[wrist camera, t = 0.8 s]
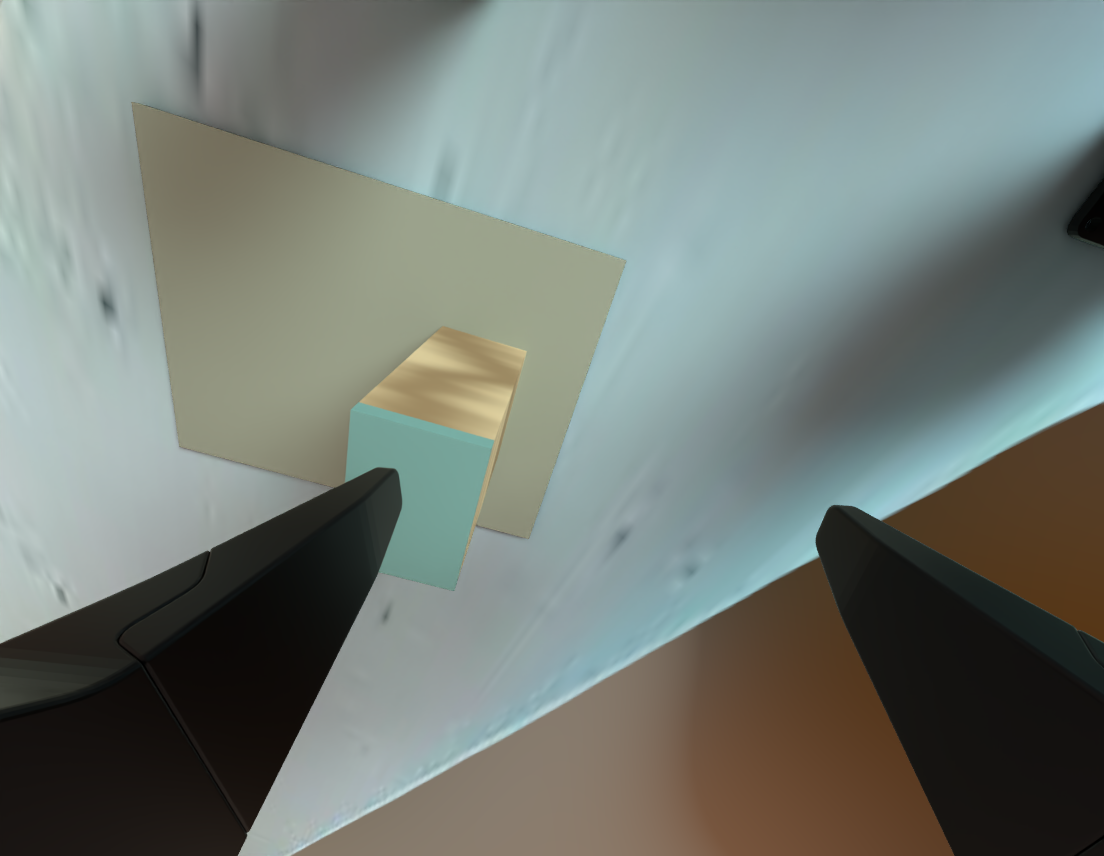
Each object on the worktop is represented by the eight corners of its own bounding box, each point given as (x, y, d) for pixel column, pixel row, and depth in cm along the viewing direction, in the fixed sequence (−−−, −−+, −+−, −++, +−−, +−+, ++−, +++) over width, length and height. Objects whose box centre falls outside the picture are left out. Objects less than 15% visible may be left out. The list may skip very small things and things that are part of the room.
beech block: (526, 351, 20) (491, 448, 12) (498, 455, 23) (454, 591, 15) (442, 326, 20) (350, 409, 12) (423, 435, 23) (338, 562, 15)
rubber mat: (625, 260, 19) (626, 261, 18) (529, 534, 26) (528, 539, 26) (141, 103, 17) (131, 102, 17) (185, 442, 24) (179, 446, 24)
